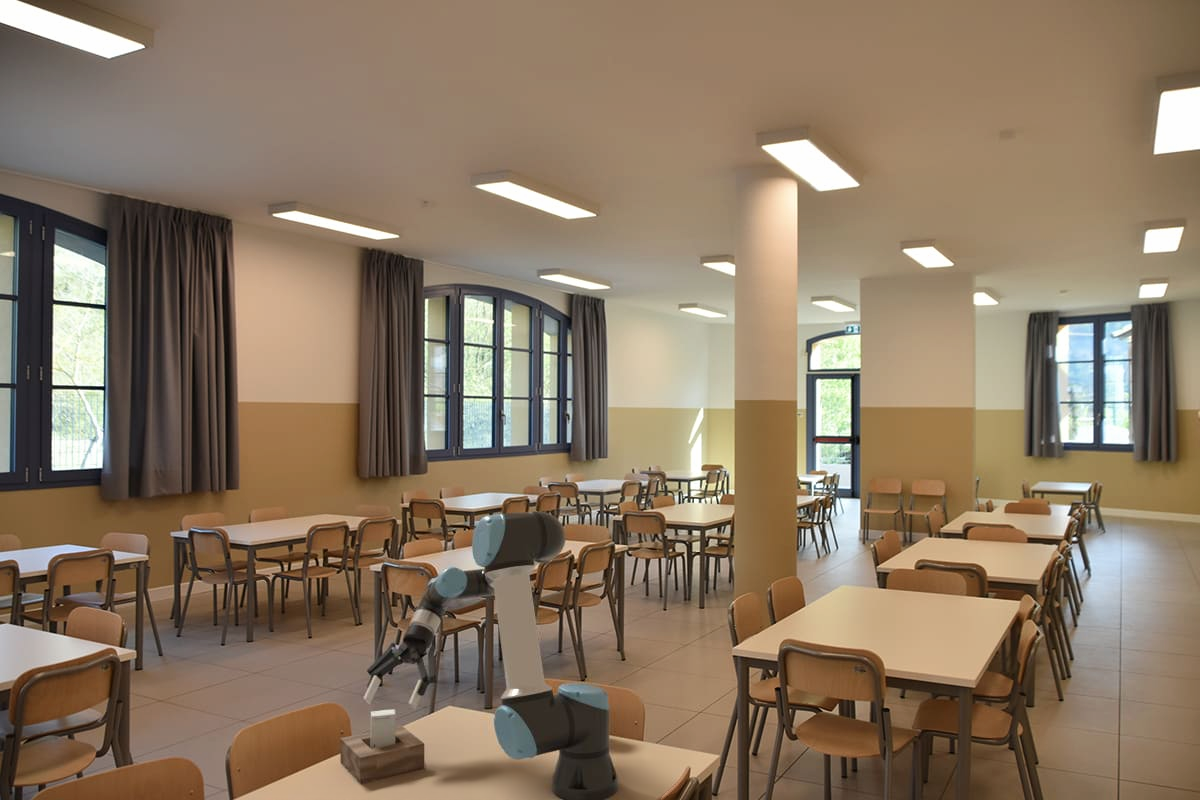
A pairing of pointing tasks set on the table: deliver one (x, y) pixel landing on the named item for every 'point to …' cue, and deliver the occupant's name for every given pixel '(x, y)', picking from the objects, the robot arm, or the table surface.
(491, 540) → the robot arm
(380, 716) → the skincare box
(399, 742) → the holder block
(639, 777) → the table surface
